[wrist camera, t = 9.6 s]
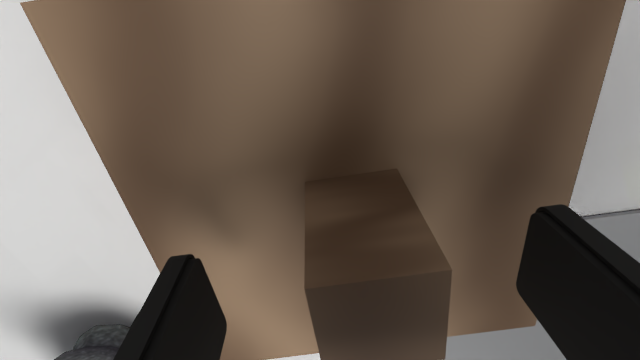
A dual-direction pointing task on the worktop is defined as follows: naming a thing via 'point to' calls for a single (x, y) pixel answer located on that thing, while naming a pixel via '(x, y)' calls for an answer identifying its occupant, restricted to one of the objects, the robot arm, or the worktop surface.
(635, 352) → the robot arm
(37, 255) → the worktop surface
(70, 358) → the mortar and pestle
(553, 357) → the rubber mat
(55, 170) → the worktop surface
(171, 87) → the walnut lid
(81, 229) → the worktop surface
